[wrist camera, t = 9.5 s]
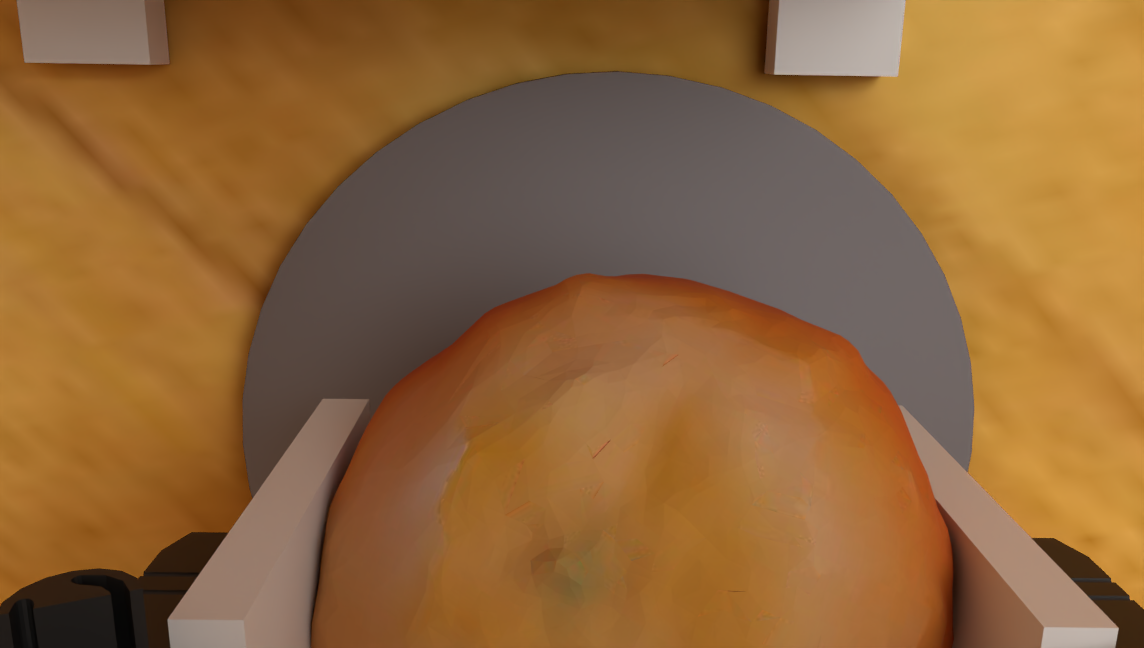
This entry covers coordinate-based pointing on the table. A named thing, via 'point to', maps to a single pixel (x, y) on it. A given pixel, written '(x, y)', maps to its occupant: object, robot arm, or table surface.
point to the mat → (597, 243)
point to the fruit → (636, 487)
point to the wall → (794, 47)
